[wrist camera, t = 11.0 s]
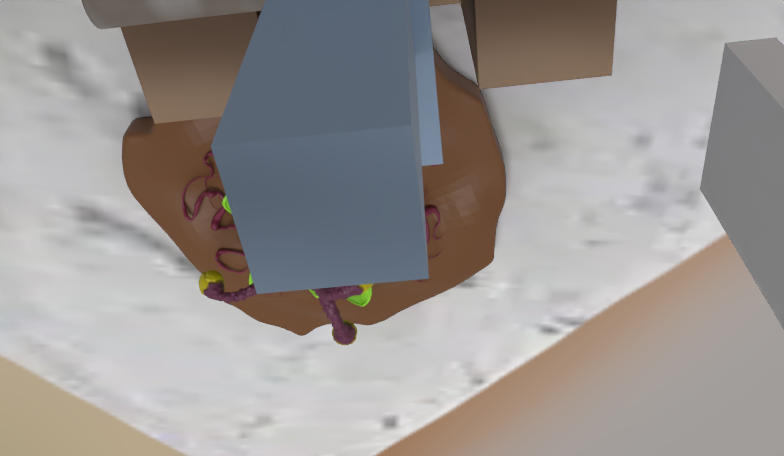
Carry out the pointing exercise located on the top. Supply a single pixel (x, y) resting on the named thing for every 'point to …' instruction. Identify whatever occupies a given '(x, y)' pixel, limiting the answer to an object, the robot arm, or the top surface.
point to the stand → (479, 5)
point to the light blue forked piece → (332, 143)
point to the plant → (335, 304)
